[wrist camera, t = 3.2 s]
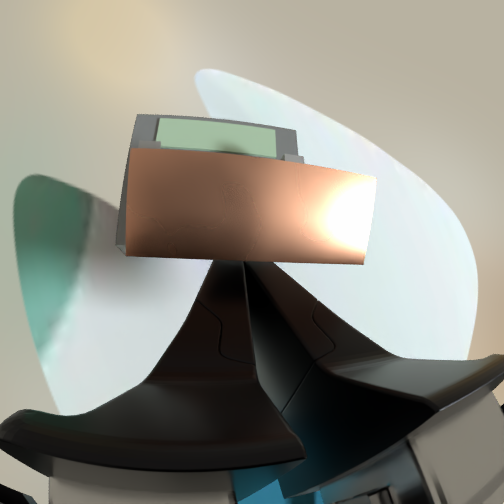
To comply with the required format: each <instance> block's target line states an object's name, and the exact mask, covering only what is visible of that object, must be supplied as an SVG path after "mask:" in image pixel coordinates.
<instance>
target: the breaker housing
mask: <svg viewBox="0 0 504 504" xmlns="http://www.w3.org/2000/svg"><path fill="white" fill-rule="evenodd" d="M131 148H149V149H173V150H189V151H203V152H215V153H226V154H235V155H245V156H253V157H261V158H269V159H276V160H283V161H290V162H296V163H302V164H304V157H303V156H298V147H297V136H296V130H291V129H286V128H280V127H274V126H268V125H262V124H255V123H248V122H240V121H232V120H223V119H214V118H203V117H190V116H174V115H173V116H172V115H148V114H146V115H145V114H137V117H136V121H135V125H134V130H133V134H132V139H131V144H130V148H129V153H128V158H127V164H126V169H125V176H124V181H123V187H122V194H121V201H120V208H119V217H118V225H117V235H116V246H117V247H118V248H119V249H120V250H121V251H122V252H123V253H124V254H125V255H126V204H127V186H128V172H129V161H130V151H131Z"/></svg>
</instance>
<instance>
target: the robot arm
mask: <svg viewBox="0 0 504 504" xmlns="http://www.w3.org/2000/svg"><path fill="white" fill-rule="evenodd" d="M503 380H504V355H500V354H493V355H490V356H488V357H486V358H484V359H478V360H465V361H461V360H425V359H408V358H403V357H399V356H396V355H394V354H392V353H390V352H388V351H386V350H385V349H383V348H382V347H380V346H379V345H378V344H376V343H375V342H373V341H372V340H370V339H369V338H368V337H366V336H365V335H363V334H362V333H360V332H359V331H358V330H356V329H355V328H353V327H352V326H351V325H349V324H348V323H347V322H345V321H344V320H342V319H341V318H340V317H338V316H337V315H336V314H335V313H333V312H332V311H331V310H330V309H328V308H327V307H326V306H325V305H324V304H322V303H321V302H320V301H317V299H316V298H315V297H314V296H313V295H312V294H310V293H309V292H308V291H307V290H306V289H305V288H303V287H302V286H301V285H300V284H299V283H297V282H296V281H295V280H294V279H293V278H291V277H290V276H289V275H288V274H287V273H285V272H284V271H283V270H282V269H281V268H279V267H278V266H277V265H276V264H275V263H273V262H260V261H233V260H213V262H212V264H211V266H210V268H209V270H208V273H207V275H206V277H205V279H204V281H203V284H202V286H201V288H200V290H199V292H198V295H197V297H196V299H195V301H194V303H193V305H192V308H191V310H190V312H189V314H188V316H187V318H186V320H185V322H184V323H183V325H182V327H181V328H180V330H179V331H178V333H177V335H176V336H175V338H174V339H173V341H172V342H171V344H170V345H169V346H168V348H167V349H166V351H165V352H164V354H163V355H162V357H161V358H160V360H159V361H158V363H157V364H156V366H155V367H154V368H153V370H152V371H151V373H150V374H149V375H148V376H147V377H146V378H145V379H144V381H142V382H141V383H140V384H138V385H137V386H135V387H133V388H132V389H130V390H128V391H126V392H125V393H123V394H121V395H119V396H118V397H116V398H114V399H112V400H110V401H108V402H107V403H105V404H103V405H101V406H99V407H97V408H96V409H94V410H92V411H89V412H87V413H84V414H79V415H71V416H62V415H55V414H50V413H45V412H41V411H36V410H31V409H24V410H19V411H17V412H16V413H14V414H13V415H11V416H10V417H9V418H7V419H5V420H4V421H3V422H2V423H1V424H0V449H1V450H3V451H4V452H6V453H7V454H9V455H10V456H12V457H14V458H15V459H17V460H18V461H20V462H22V463H24V464H25V465H27V466H29V467H30V468H32V469H34V470H36V471H38V472H40V473H41V474H43V475H46V476H47V477H49V504H238V502H239V501H240V500H242V499H244V498H246V497H248V496H250V495H251V494H253V493H255V492H257V491H258V490H260V489H262V488H263V487H265V486H267V485H268V484H270V483H272V482H273V481H275V480H276V479H278V481H279V484H280V488H281V491H282V494H283V497H284V499H286V498H291V497H296V496H300V495H304V494H308V493H312V492H316V491H319V490H320V493H321V497H322V500H323V503H324V504H503V502H504V404H503V405H502V406H500V405H499V403H498V401H497V399H496V398H495V396H494V394H493V392H492V390H494V389H495V388H496V387H497V386H498V385H499V384H500V383H501V382H502V381H503ZM0 504H37V503H36V502H35V500H34V499H33V498H32V497H31V496H29V495H26V494H23V493H21V492H18V491H16V490H13V489H11V488H8V487H6V486H4V485H2V484H0Z"/></svg>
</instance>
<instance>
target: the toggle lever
mask: <svg viewBox="0 0 504 504" xmlns="http://www.w3.org/2000/svg"><path fill="white" fill-rule="evenodd" d="M375 187H376V178H374V177H370V176H365V175H361V174H356V173H351V172H346V171H341V170H336V169H331V168H325V167H320V166H314V165H308V164H302V163H296V162H290V161H283V160H276V159H269V158H261V157H253V156H245V155H235V154H226V153H215V152H203V151H189V150H173V149H149V148H131V151H130V161H129V172H128V186H127V204H126V256H136V257H158V258H182V259H206V260H233V261H260V262H290V263H322V264H357V265H363V264H364V258H365V253H366V248H367V242H368V236H369V230H370V224H371V217H372V210H373V203H374V195H375Z"/></svg>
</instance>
